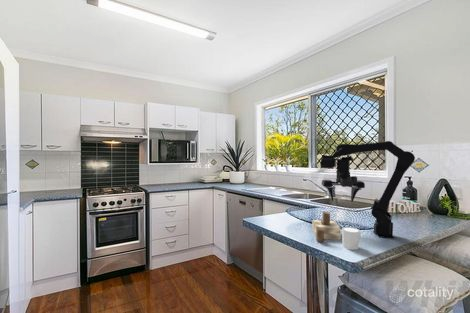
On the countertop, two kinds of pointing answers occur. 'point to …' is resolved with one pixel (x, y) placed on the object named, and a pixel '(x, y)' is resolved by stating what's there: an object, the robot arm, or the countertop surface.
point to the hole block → (327, 229)
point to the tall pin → (326, 218)
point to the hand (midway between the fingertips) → (341, 201)
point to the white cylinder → (351, 238)
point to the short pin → (319, 235)
